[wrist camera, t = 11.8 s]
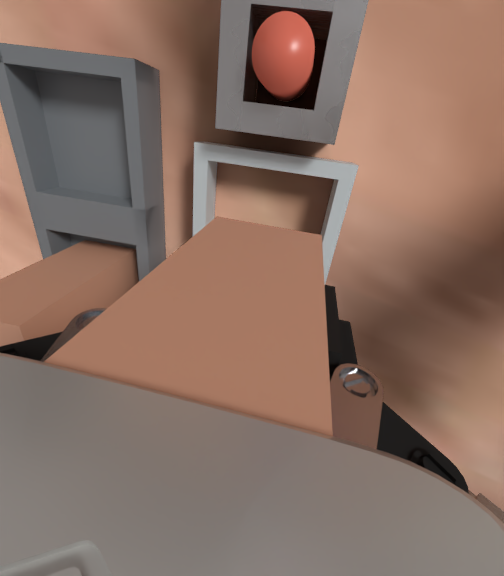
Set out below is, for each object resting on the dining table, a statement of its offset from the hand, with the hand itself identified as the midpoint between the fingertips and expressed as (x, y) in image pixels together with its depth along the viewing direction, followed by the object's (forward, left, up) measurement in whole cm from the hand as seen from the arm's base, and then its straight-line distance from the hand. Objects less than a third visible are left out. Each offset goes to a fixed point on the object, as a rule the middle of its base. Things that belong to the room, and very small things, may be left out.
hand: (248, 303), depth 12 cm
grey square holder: (-10, -1, -13) cm, 16 cm away
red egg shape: (-10, -1, -12) cm, 15 cm away
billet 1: (+7, -15, -12) cm, 20 cm away
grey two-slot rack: (+1, -15, -13) cm, 20 cm away
